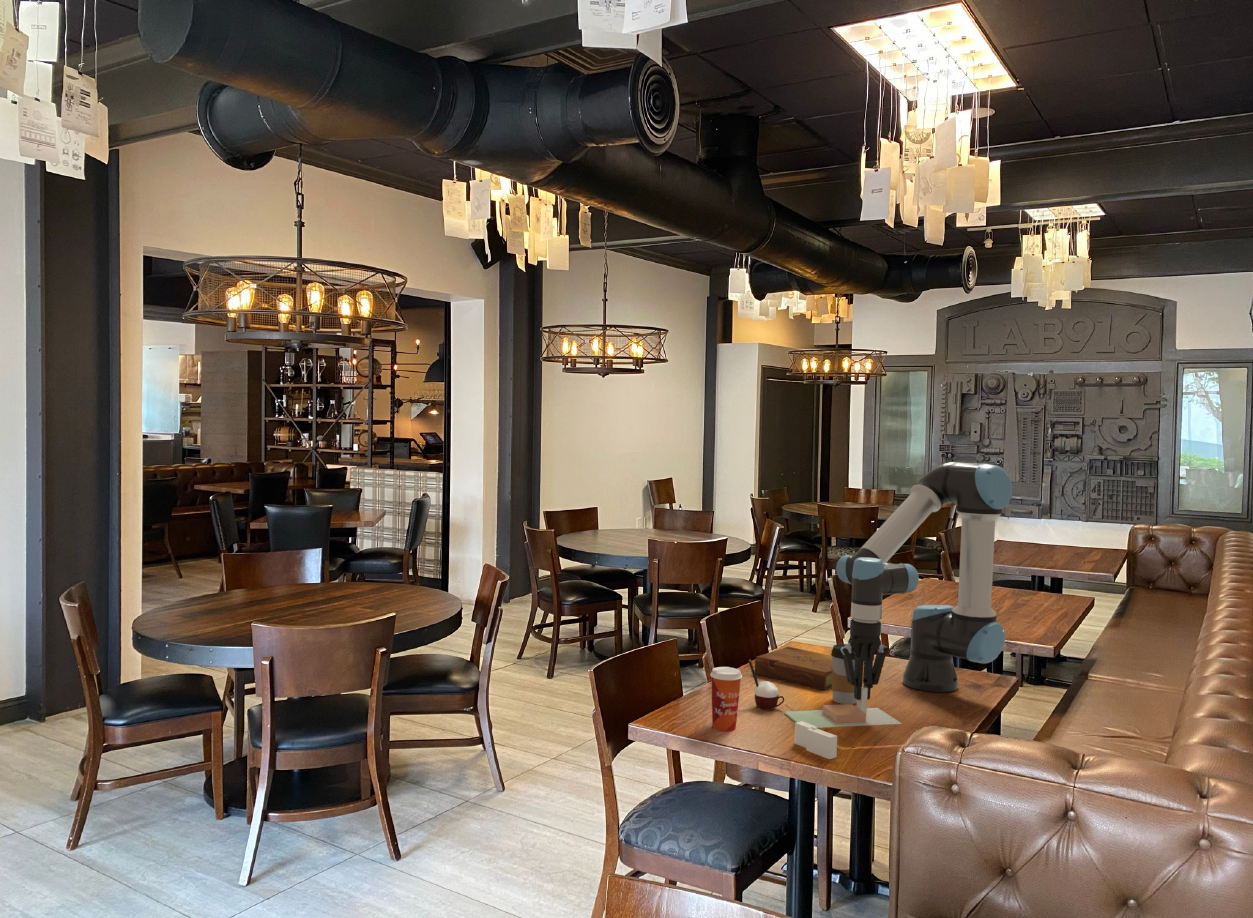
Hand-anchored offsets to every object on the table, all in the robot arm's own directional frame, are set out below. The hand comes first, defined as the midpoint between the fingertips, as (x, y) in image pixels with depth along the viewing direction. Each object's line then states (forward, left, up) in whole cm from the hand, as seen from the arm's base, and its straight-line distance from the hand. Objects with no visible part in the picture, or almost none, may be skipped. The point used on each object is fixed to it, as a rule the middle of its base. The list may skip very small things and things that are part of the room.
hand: (861, 711), depth 243 cm
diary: (-2, -39, -3) cm, 39 cm away
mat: (+5, 0, -2) cm, 5 cm away
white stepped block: (+21, +19, -3) cm, 29 cm away
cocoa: (+21, -12, -2) cm, 24 cm away
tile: (+1, 0, 0) cm, 1 cm away
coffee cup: (-2, -13, -2) cm, 13 cm away
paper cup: (+37, +2, -2) cm, 37 cm away
